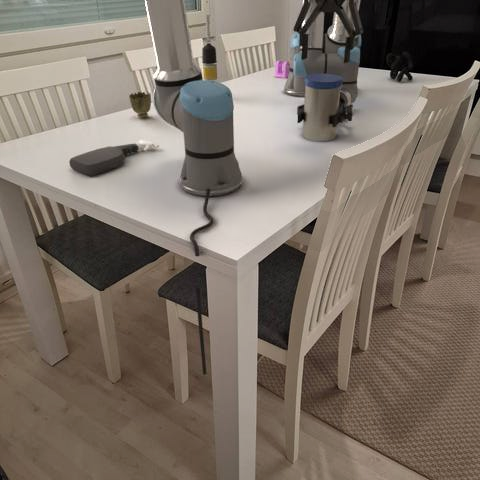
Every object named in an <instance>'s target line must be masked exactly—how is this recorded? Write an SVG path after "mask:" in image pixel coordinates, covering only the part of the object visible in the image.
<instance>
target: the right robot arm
mask: <svg viewBox="0 0 480 480" xmlns="http://www.w3.org/2000/svg"><path fill="white" fill-rule="evenodd" d="M303 4H304V0H301V7H302V6H303ZM360 5H361V0H356V6H357V9H358V12H359V10H360ZM316 6H317V4H316V2H315V0H313V2H312V3H311V5H310V8H309V10H308V12H307V15H306V17H305V20H304V22H303V24H302V27H303V25H304V24H305V22H306V21H307V20H308V18H309V17H310V15H311V14H312V12H313V10H314V9H315V7H316ZM342 6H343V8H344V10H345V13H346V15H347V17H348V19H349V20H350V22H351V24H352V26H353V28H354V30H355V27H354V23H353V20H352V16H351V12H350V8H349V4H347V1H346V0H345V1H344V3H343V4H342ZM324 23H325V13H324V12H321V13H320V14H319V15H318V16H317V18H316V19H315V21H314V22H313V23H312V25H311V26H310V28H309V29H308V30H307V33H305V34H309V36H308V53H307V58H306V59H304V60H302V59H301V55H302V47H301V46H299V37H300V35H299V33H298V32H294V33H293V34H292V35H291V37H290V45H289V49H290V51H289V62H290V69H289V75H288V77H287V78H286V81H285V84H284V87H283V88H284V89H283V92H284V94H286V95H288V96H293V97H302V98H303V97H304V98H305V84H304V80H305V77H306V76H308V75H312V74H332V75H338V76H341V77H342V78H343V82H342V86H341V88H340V98H339V108H338V114H337V115H336V116H335V117H334V118H333V126H332V127H336V126H337V127H338V126H339V124H341V123H344V122H346V120H347V122H352V120H353V114H354V113H353V111H354V110H353V109H354V104H353V103H354V102H355V101H356V100H357V98H358V96H359V88H358V75H359V68H360V64H361V61H360V60H361V46H362V34H360V35H357V36H356V37H355V46H354V49H353V50H351V51H350V60H349V62H347V63H344V55H345V45H346V37H349V34H348V33H347V31H346V29H345V27H344V25H343V23H342V22H341V20H340V18H339V16H338V15H337V14H336V12H334V13H333V18H332V25H331V26H329V27H328V29H327V32H326V33H324V27H325V26H324V25H325V24H324ZM302 27H301V28H302ZM296 110H297V111H296V115H297V124H300V123H302V122H303V119H304V104H301V105H298V106H297V109H296Z"/></svg>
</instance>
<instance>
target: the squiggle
mask: <svg viewBox="0 0 480 480" xmlns="http://www.w3.org/2000/svg"><path fill="white" fill-rule="evenodd" d="M401 57H402V59H401ZM391 59H392V60H391ZM393 60H394V61H393ZM385 61H386V64H387V67H390V68H391V70H390V72H389V78H390V79H391V80H395V79H396V81H397V82H399V83H400V82H402V81H403V79H404V76H406V78H407V80H408V81H412V80H413V79H414V77H413V75H412V74H411V73H410V72H409V71H410V70H412V69H413V68H414V64H413V61H412V57H411V54H410V53H409V52H408V51H403V53H402V54H401V55H396V54H394V53H392V52H390V53H387V55H386V57H385ZM406 62H407V65H408V66H407V67H405V66H404V65H405V64H406ZM400 70H401V71H400Z"/></svg>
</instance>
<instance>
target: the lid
mask: <svg viewBox="0 0 480 480" xmlns="http://www.w3.org/2000/svg"><path fill="white" fill-rule="evenodd" d="M342 82H343V78H342V77H341V76H338V75H332V74H312V75H308V76H306V77H305V80H304V84H305V85H306V86H308V87H312V88H319V89H330V88H337V87H340V86H342Z"/></svg>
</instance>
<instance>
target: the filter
mask: <svg viewBox="0 0 480 480" xmlns="http://www.w3.org/2000/svg"><path fill="white" fill-rule="evenodd" d="M210 17H211V14H204V18H205V27H206V29H205V30H206V31H205V33H206V39H207V40H206V42H207V43H206V45H204V46H202V49H201V50H202V51H201V52H202V54H201V55H202V57H201V58H202V61H201V63H202V71H203V72H202V76H203V80H207V81H212V82H216V80H218V64H216V63H218V61H217V48H216V47H215V46H214V45H212V43H210V42H211V40H210V39H211V31H210V29H211V28H210Z"/></svg>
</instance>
